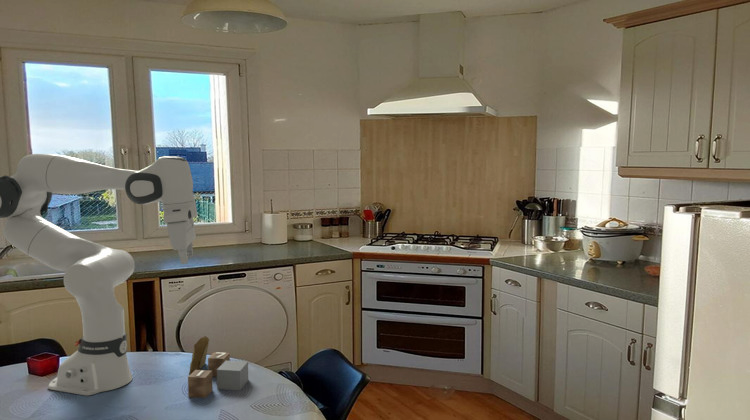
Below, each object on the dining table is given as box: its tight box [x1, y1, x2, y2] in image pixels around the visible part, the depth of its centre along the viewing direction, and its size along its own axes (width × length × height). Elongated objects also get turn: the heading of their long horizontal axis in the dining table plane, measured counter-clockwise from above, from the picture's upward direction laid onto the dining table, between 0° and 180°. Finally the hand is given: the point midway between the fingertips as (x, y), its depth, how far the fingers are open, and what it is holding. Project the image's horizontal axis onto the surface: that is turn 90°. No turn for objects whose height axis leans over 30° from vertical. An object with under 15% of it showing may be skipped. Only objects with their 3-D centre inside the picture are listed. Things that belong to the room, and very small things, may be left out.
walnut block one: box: [187, 369, 214, 399], centre depth 155 cm, size 5×5×6 cm
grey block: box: [216, 360, 249, 391], centre depth 161 cm, size 7×7×6 cm
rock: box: [188, 335, 210, 375], centre depth 172 cm, size 11×9×10 cm
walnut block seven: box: [207, 351, 231, 378], centre depth 169 cm, size 5×5×6 cm
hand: (187, 260), depth 155 cm, fingers open, 8 cm apart
